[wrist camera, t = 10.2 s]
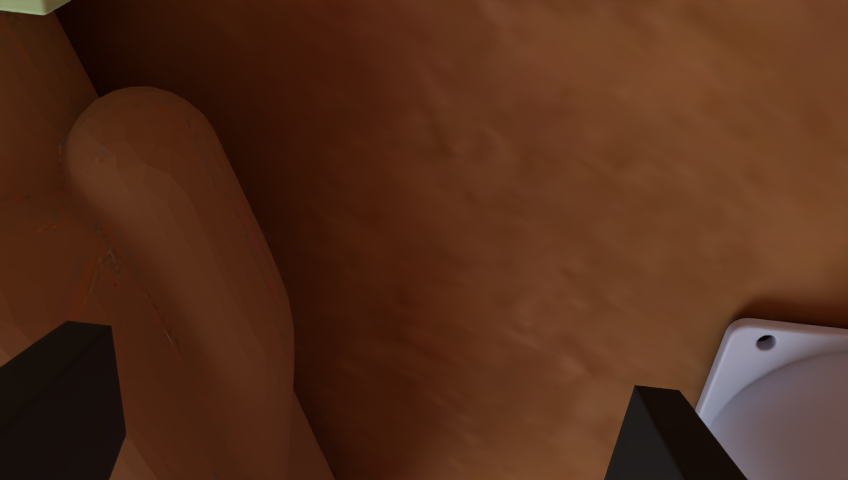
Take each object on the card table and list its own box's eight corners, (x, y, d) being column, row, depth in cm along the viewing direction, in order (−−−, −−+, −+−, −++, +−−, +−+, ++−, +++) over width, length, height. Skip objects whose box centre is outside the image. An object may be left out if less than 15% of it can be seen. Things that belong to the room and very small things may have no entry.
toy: (-288, 109, 21) (84, 596, 29) (-668, 252, 14) (-36, 829, 23) (206, -64, 18) (456, 536, 26) (30, 11, 11) (445, 785, 20)
